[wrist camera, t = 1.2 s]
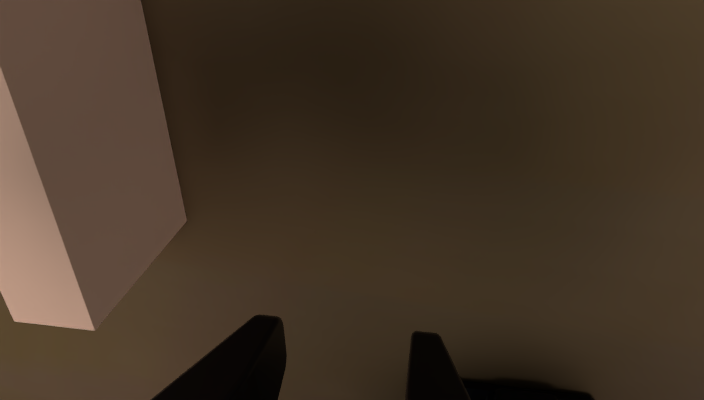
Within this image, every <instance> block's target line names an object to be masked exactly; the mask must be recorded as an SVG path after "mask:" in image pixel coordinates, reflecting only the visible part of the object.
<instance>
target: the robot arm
mask: <svg viewBox="0 0 704 400" xmlns="http://www.w3.org/2000/svg"><path fill="white" fill-rule="evenodd" d="M286 357H287V354H286V345H285V336H284V327H283V322H282V320H281V318H279V317H277V316H268V315H256V316H254V317H252V318H251V319H250V320H249V321H247V322H246V323H245V324H244V325H242V326H241V327H240V328H239V329H237V330H236V331H235V332H234V333H232V334H231V335H230V336H229V337H228V338H226V339H225V340H224V341H223V342H221V343H220V344H219V345H218V346H216V347H215V348H214V349H213V350H211V351H210V352H209V353H208V354H207V355H205V356H204V357H203V358H202V359H200V360H199V361H198V362H197V363H195V364H194V365H193V366H192V367H190V368H189V369H188V370H187V371H185V372H184V373H183V374H182V375H181V376H179V377H178V378H177V379H176V380H174V381H173V382H172V383H171V384H169V385H168V386H167V387H166V388H164V389H163V390H162V391H161V392H160V393H158V394H157V395H156V396H155V397H153V398H152V399H151V400H278V396H279V392H280V388H281V384H282V380H283V376H284V372H285V367H286ZM405 400H594V399H593V398H591V397H589V396H585V395H577V394H568V393H560V392H551V391H543V390H535V389H526V388H518V387H509V386H501V385H492V384H484V383H475V382H467V381H462V380H461V378H460V376H459V374H458V372H457V370H456V368H455V366H454V364H453V362H452V359H451V357H450V355H449V353H448V351H447V349H446V347H445V345H444V343H443V341H442V339H441V337H440V336H439V335H438V334H437V333H430V332H421V331H415V332H413V333H412V336H411V345H410V354H409V363H408V373H407V382H406V398H405Z"/></svg>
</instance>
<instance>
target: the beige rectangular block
mask: <svg viewBox="0 0 704 400" xmlns="http://www.w3.org/2000/svg"><path fill="white" fill-rule="evenodd" d="M186 222H187V219H186V214H185V209H184V204H183V199H182V195H181V190H180V185H179V180H178V175H177V171H176V166H175V161H174V156H173V152H172V147H171V142H170V137H169V132H168V128H167V123H166V118H165V113H164V108H163V104H162V99H161V94H160V89H159V85H158V80H157V75H156V70H155V65H154V61H153V56H152V51H151V46H150V41H149V37H148V32H147V27H146V22H145V18H144V13H143V8H142V3H141V0H0V291H1V293H2V295H3V298H4V300H5V302H6V304H7V306H8V309H9V311H10V313H11V315H12V317H13V320H14V321H15V322H24V323H32V324H41V325H50V326H58V327H67V328H76V329H84V330H93V331H95V330H96V329H97V328H98V326H99V325H100V324H101V323H102V322H103V320H104V319H105V318H106V317H107V316H108V314H109V313H110V312H111V311H112V310H113V308H114V307H115V306H116V305H117V304H118V303H119V301H120V300H121V299H122V298H123V297H124V295H125V294H126V293H127V292H128V291H129V289H130V288H131V287H132V286H133V285H134V283H135V282H136V281H137V280H138V279H139V278H140V276H141V275H142V274H143V273H144V272H145V270H146V269H147V268H148V267H149V266H150V264H151V263H152V262H153V261H154V260H155V258H156V257H157V256H158V255H159V254H160V253H161V251H162V250H163V249H164V248H165V247H166V245H167V244H168V243H169V242H170V241H171V239H172V238H173V237H174V236H175V235H176V233H177V232H178V231H179V230H180V229H181V228H182V226H183V225H184V224H185V223H186Z"/></svg>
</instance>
